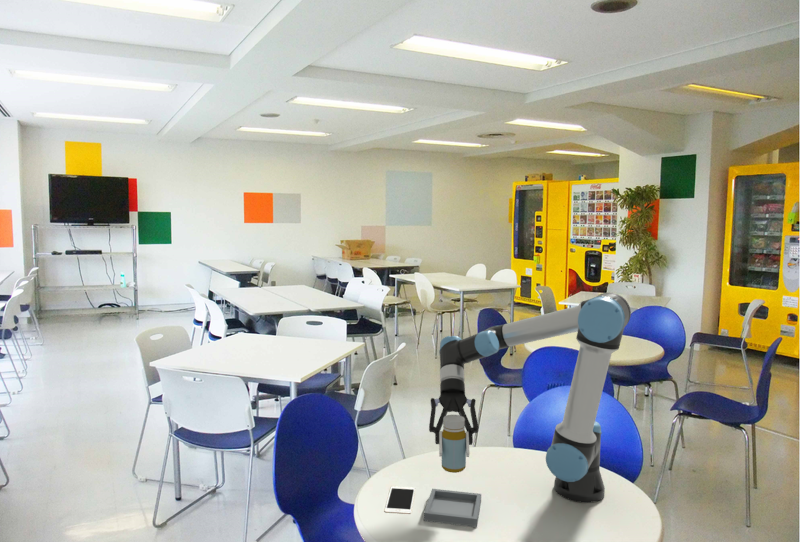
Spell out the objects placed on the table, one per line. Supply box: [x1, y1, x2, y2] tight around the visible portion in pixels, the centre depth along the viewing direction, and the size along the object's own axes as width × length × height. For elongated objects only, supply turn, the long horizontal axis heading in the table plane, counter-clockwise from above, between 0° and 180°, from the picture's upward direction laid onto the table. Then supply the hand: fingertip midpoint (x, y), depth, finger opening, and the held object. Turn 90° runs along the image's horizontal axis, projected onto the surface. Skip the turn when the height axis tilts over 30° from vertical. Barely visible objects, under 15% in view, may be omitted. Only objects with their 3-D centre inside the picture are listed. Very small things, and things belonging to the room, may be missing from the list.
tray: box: [423, 488, 482, 528], centre depth 170 cm, size 15×15×2 cm
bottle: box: [441, 414, 467, 474], centre depth 169 cm, size 7×7×15 cm
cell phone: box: [384, 485, 416, 515], centre depth 177 cm, size 8×16×1 cm, turn 174°
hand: (454, 454), depth 165 cm, fingers closed on bottle, 7 cm apart
